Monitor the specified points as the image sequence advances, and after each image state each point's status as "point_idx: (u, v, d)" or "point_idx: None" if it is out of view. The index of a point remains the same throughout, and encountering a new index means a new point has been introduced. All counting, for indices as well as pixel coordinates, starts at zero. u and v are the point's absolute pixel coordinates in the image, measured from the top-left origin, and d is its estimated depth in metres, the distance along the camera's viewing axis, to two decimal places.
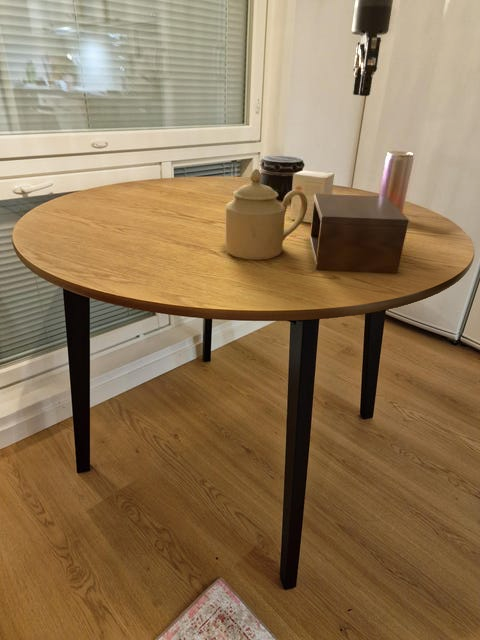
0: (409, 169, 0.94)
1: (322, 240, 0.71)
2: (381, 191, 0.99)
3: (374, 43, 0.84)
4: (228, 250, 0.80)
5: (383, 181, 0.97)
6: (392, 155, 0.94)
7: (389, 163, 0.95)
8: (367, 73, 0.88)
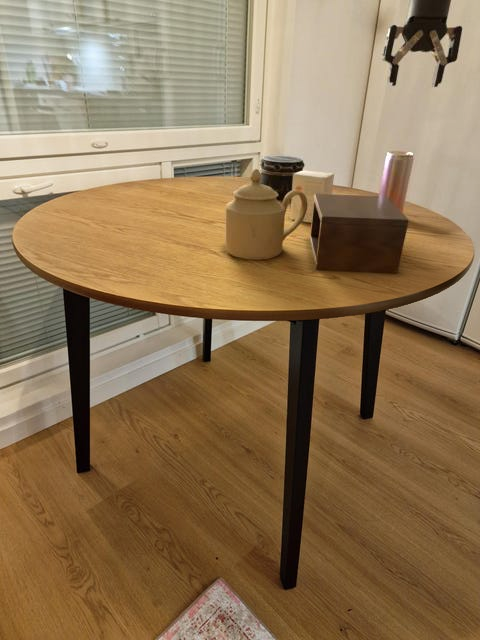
0: (409, 169, 0.94)
1: (322, 240, 0.71)
2: (381, 191, 0.99)
3: (388, 32, 0.84)
4: (228, 250, 0.80)
5: (383, 181, 0.97)
6: (392, 155, 0.94)
7: (389, 163, 0.95)
8: (388, 62, 0.87)
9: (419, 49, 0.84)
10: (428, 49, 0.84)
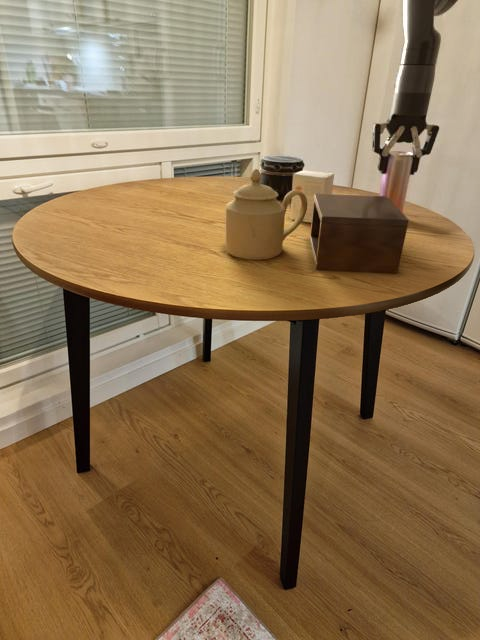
0: (409, 169, 0.94)
1: (322, 240, 0.71)
2: (381, 191, 0.99)
3: (373, 129, 0.93)
4: (228, 250, 0.80)
5: (383, 181, 0.97)
6: (392, 155, 0.94)
7: (389, 163, 0.95)
8: None
9: (401, 141, 0.93)
10: (410, 141, 0.93)
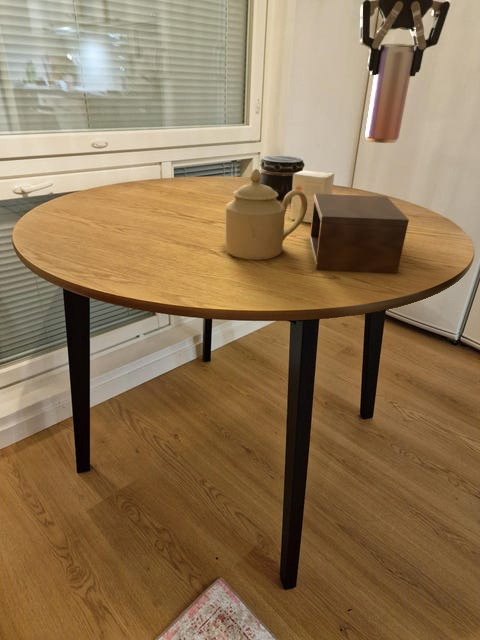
0: (408, 66, 0.71)
1: (322, 240, 0.71)
2: (372, 100, 0.75)
3: (361, 9, 0.69)
4: (228, 250, 0.80)
5: (374, 86, 0.74)
6: (386, 46, 0.70)
7: (382, 58, 0.71)
8: (367, 46, 0.72)
9: (399, 25, 0.69)
10: (410, 25, 0.69)
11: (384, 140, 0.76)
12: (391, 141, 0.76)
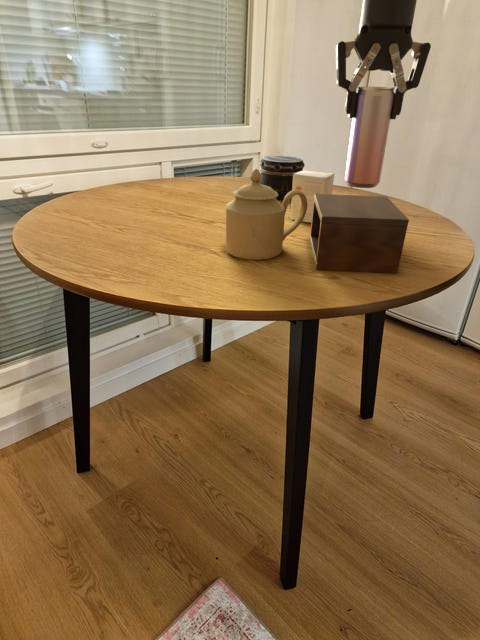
0: (388, 109, 0.66)
1: (322, 240, 0.71)
2: (350, 144, 0.70)
3: (336, 51, 0.65)
4: (228, 250, 0.80)
5: (352, 129, 0.69)
6: (363, 89, 0.65)
7: (359, 101, 0.66)
8: (344, 88, 0.67)
9: (377, 67, 0.65)
10: (388, 67, 0.64)
11: (364, 185, 0.71)
12: (371, 186, 0.72)
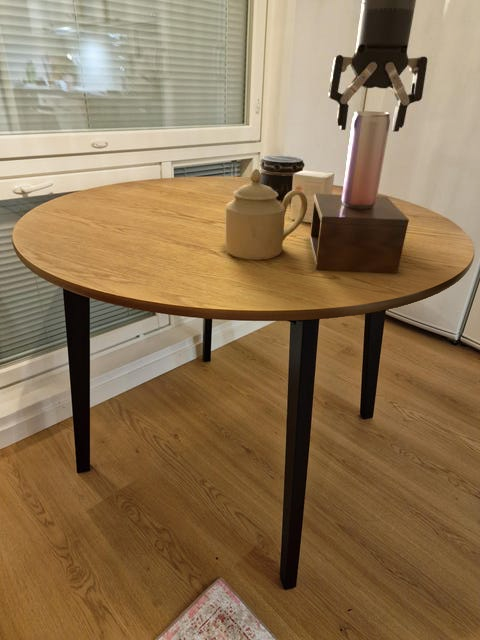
0: (384, 135, 0.68)
1: (322, 240, 0.71)
2: (347, 167, 0.72)
3: (333, 63, 0.65)
4: (228, 250, 0.80)
5: (349, 152, 0.71)
6: (360, 115, 0.67)
7: (356, 127, 0.68)
8: None
9: (373, 85, 0.66)
10: (385, 85, 0.66)
11: (361, 207, 0.73)
12: (368, 208, 0.74)
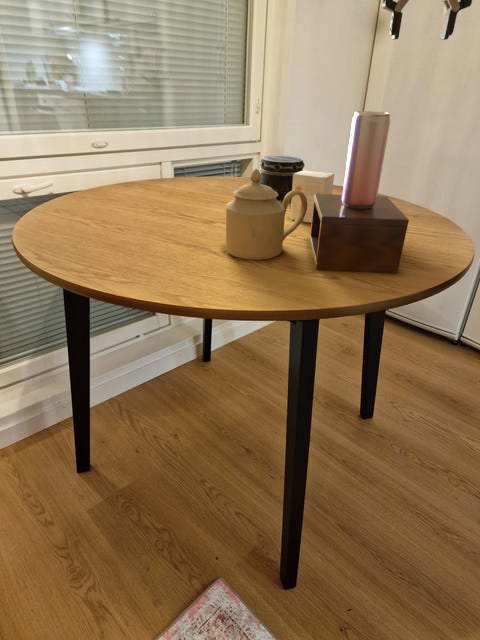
0: (384, 134, 0.68)
1: (322, 240, 0.71)
2: (347, 167, 0.72)
3: None
4: (228, 250, 0.80)
5: (349, 152, 0.71)
6: (360, 115, 0.67)
7: (356, 127, 0.68)
8: (389, 10, 0.73)
9: None
10: None
11: (361, 207, 0.73)
12: (368, 208, 0.74)
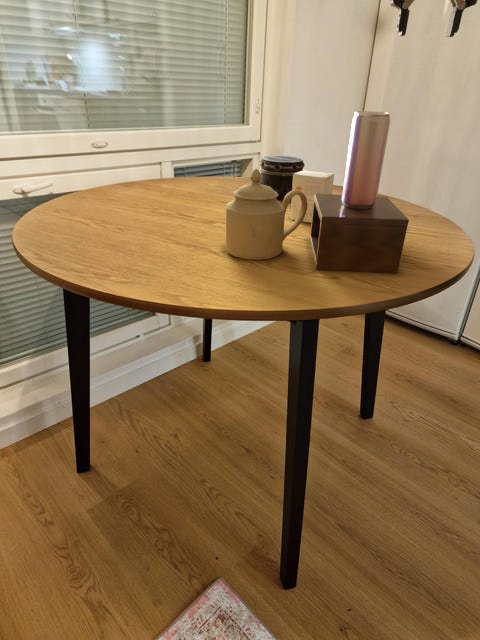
0: (384, 134, 0.68)
1: (322, 240, 0.71)
2: (347, 167, 0.72)
3: None
4: (228, 250, 0.80)
5: (349, 152, 0.71)
6: (360, 115, 0.67)
7: (356, 127, 0.68)
8: (397, 7, 0.75)
9: None
10: None
11: (361, 207, 0.73)
12: (368, 208, 0.74)
